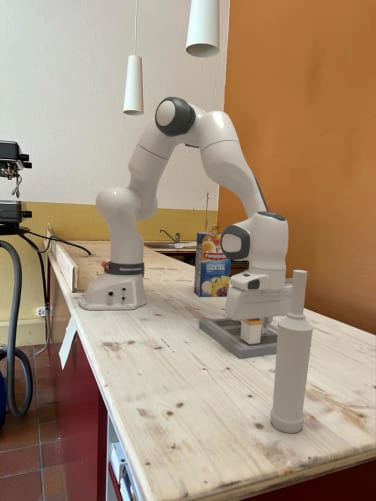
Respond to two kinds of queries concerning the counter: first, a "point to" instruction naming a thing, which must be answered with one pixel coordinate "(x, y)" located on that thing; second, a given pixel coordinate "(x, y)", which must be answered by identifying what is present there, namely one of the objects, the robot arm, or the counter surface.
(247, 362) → the counter surface
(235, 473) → the counter surface
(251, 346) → the panel
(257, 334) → the block
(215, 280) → the juice carton
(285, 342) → the bottle
